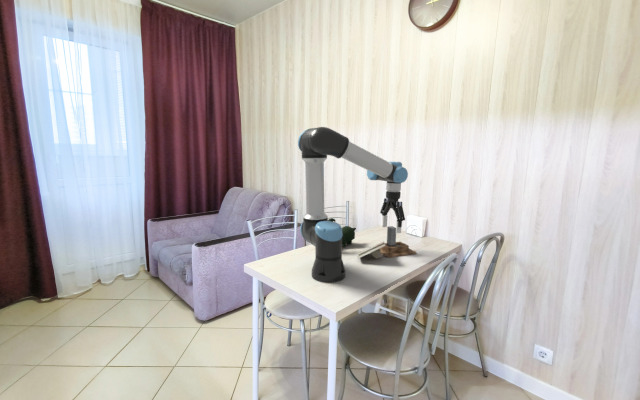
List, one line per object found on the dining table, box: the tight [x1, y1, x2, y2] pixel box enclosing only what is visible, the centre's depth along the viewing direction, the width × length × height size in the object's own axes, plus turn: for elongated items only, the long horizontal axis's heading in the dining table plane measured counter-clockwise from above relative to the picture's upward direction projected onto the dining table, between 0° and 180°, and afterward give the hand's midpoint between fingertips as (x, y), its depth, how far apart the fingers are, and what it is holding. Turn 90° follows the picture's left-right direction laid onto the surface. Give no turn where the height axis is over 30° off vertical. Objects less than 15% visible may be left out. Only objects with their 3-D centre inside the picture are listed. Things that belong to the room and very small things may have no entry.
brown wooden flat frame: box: [380, 241, 417, 259], centre depth 164 cm, size 18×14×4 cm
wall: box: [357, 240, 386, 260], centre depth 153 cm, size 16×9×15 cm
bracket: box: [386, 225, 401, 247], centre depth 163 cm, size 8×4×13 cm, turn 109°
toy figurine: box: [328, 217, 357, 247], centre depth 173 cm, size 9×19×25 cm
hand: (391, 229), depth 161 cm, fingers open, 13 cm apart
